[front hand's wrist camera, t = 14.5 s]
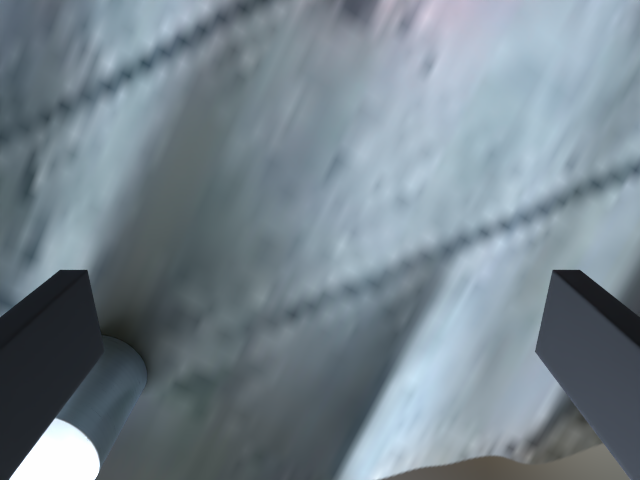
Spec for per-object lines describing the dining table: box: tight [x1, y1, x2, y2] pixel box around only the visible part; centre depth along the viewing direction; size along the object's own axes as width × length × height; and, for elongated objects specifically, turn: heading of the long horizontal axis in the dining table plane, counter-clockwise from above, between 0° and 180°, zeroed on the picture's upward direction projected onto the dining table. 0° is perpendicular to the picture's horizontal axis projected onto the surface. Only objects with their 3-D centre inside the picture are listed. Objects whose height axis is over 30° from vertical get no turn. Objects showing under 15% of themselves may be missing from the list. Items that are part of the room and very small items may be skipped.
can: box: [10, 335, 147, 480], centre depth 42 cm, size 9×9×11 cm
